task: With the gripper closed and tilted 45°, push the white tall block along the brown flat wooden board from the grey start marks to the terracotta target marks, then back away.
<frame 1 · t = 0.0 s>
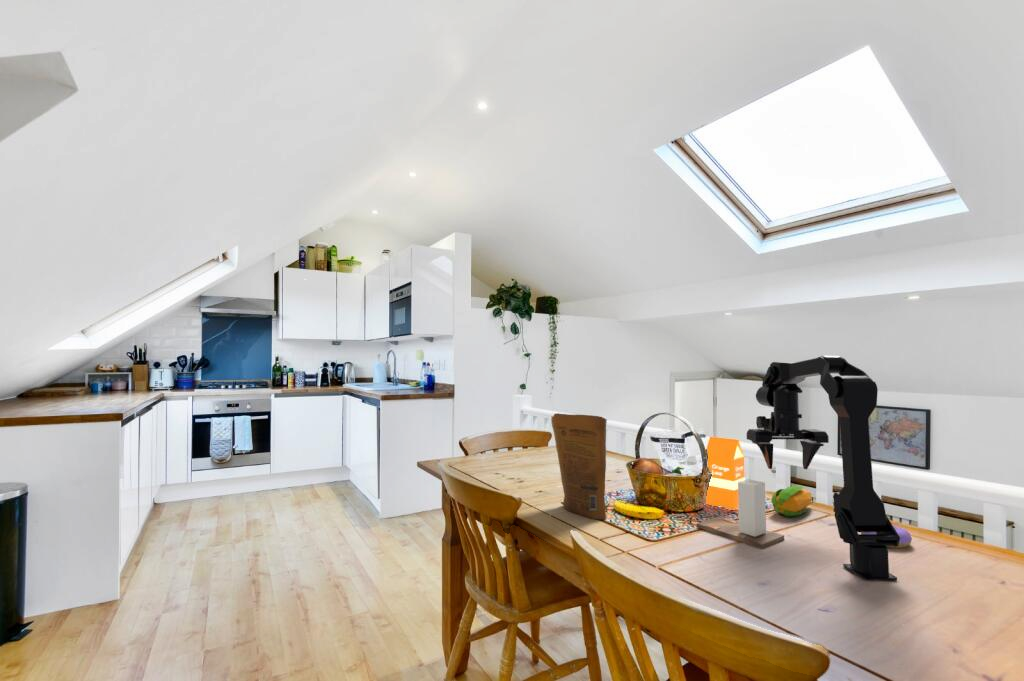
hand: (787, 468, 125), 15 cm above the table, tool pointing down, fingers open, 9 cm apart
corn: (793, 512, 136), on the table
brown flat wooden board: (738, 533, 118), on the table
orange juice: (725, 506, 142), on the table
donut: (885, 543, 113), on the table
white tall block: (751, 507, 116), point 7 cm above the table, slide at 0.0 cm
pancake mix bag: (581, 513, 134), on the table
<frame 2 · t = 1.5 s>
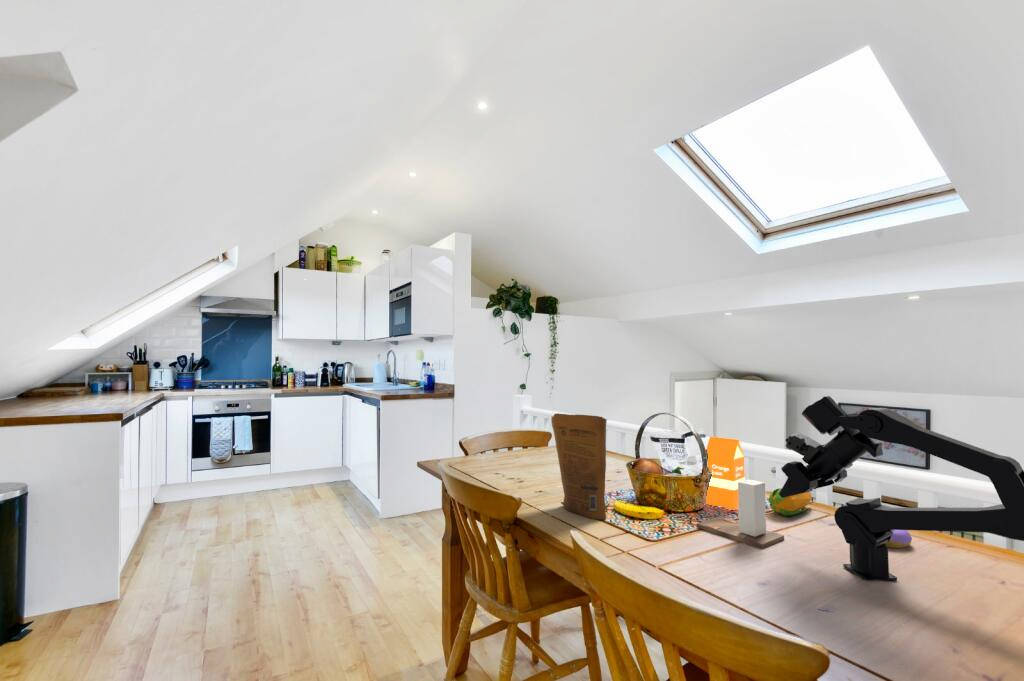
hand: (788, 493, 109), 13 cm above the table, tool tilted 45°, fingers open, 7 cm apart
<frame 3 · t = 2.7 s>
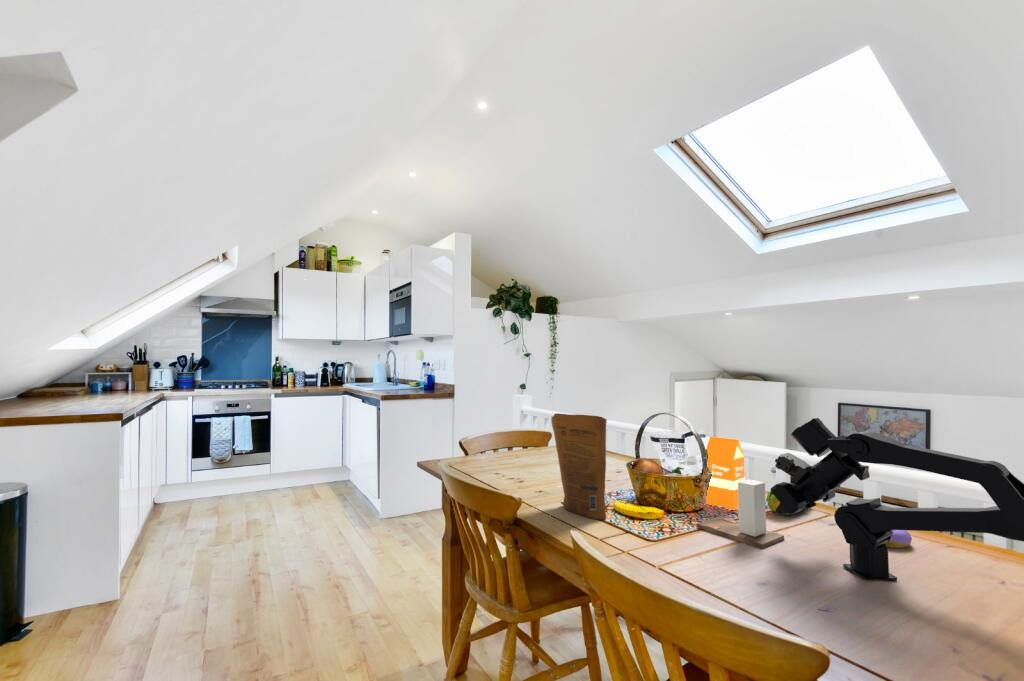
hand: (777, 512, 111), 8 cm above the table, tool tilted 45°, fingers closed
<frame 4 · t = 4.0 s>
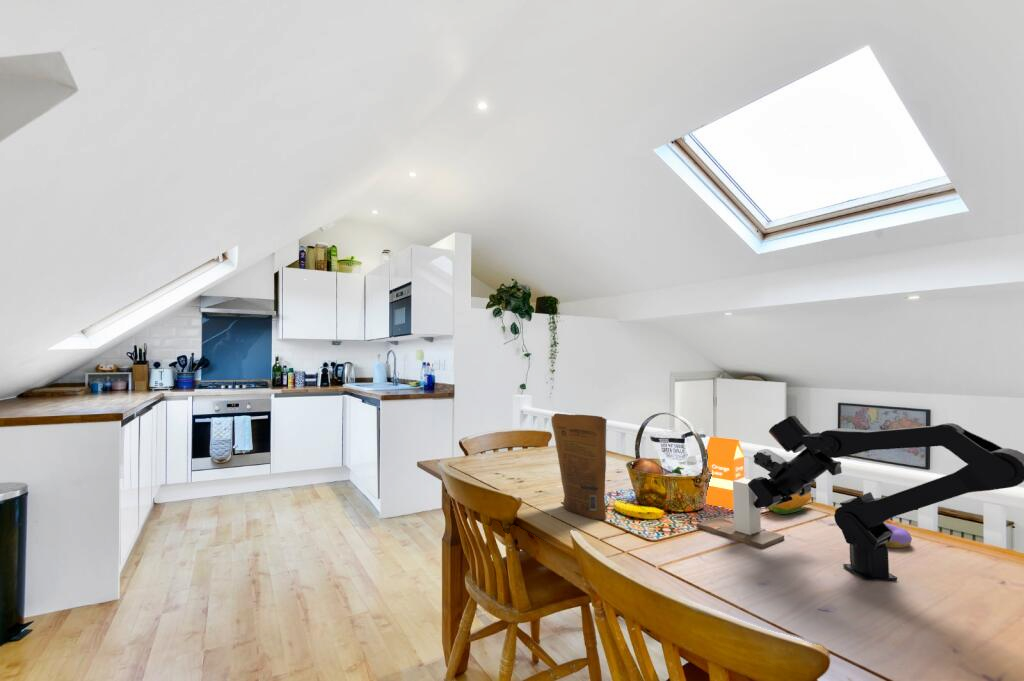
hand: (755, 506, 115), 8 cm above the table, tool tilted 45°, fingers closed, pressing on white tall block
white tall block: (746, 505, 117), point 7 cm above the table, slide at 1.3 cm, touching gripper
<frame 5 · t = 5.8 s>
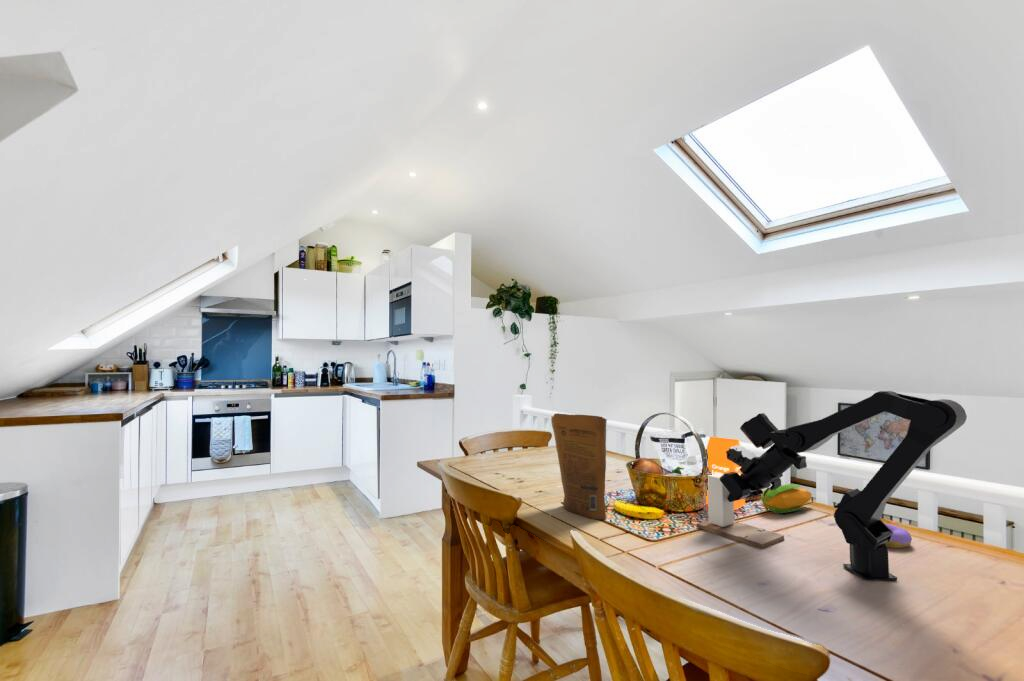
hand: (729, 500, 121), 8 cm above the table, tool tilted 45°, fingers closed, pressing on white tall block
white tall block: (720, 499, 123), point 7 cm above the table, slide at 8.2 cm, touching gripper
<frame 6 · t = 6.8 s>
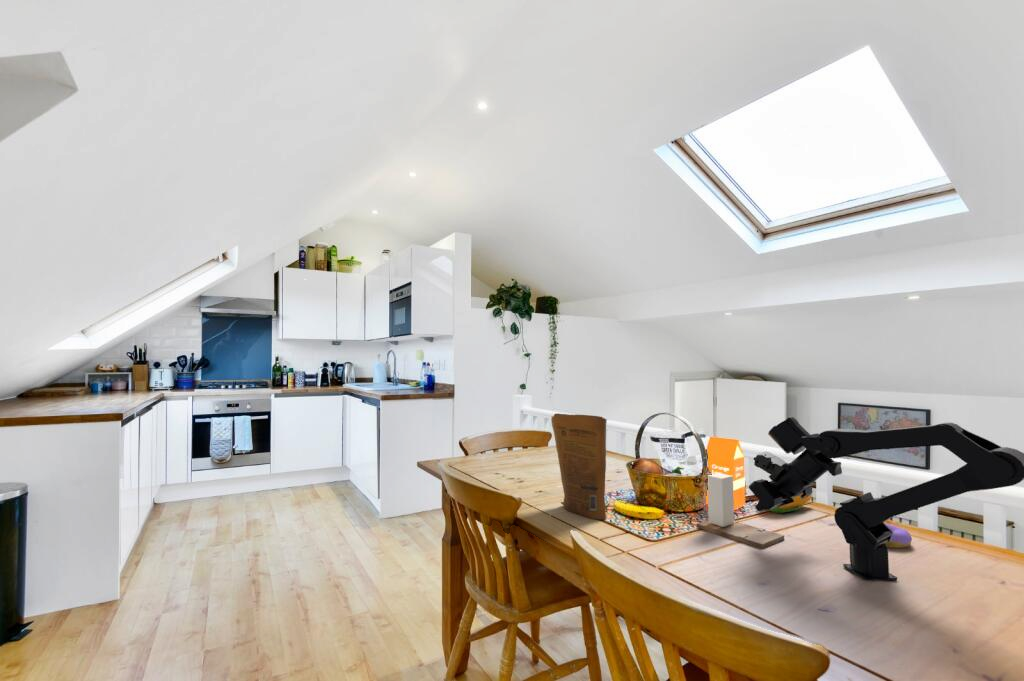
hand: (757, 509, 115), 7 cm above the table, tool tilted 45°, fingers closed
white tall block: (720, 499, 123), point 7 cm above the table, slide at 8.2 cm
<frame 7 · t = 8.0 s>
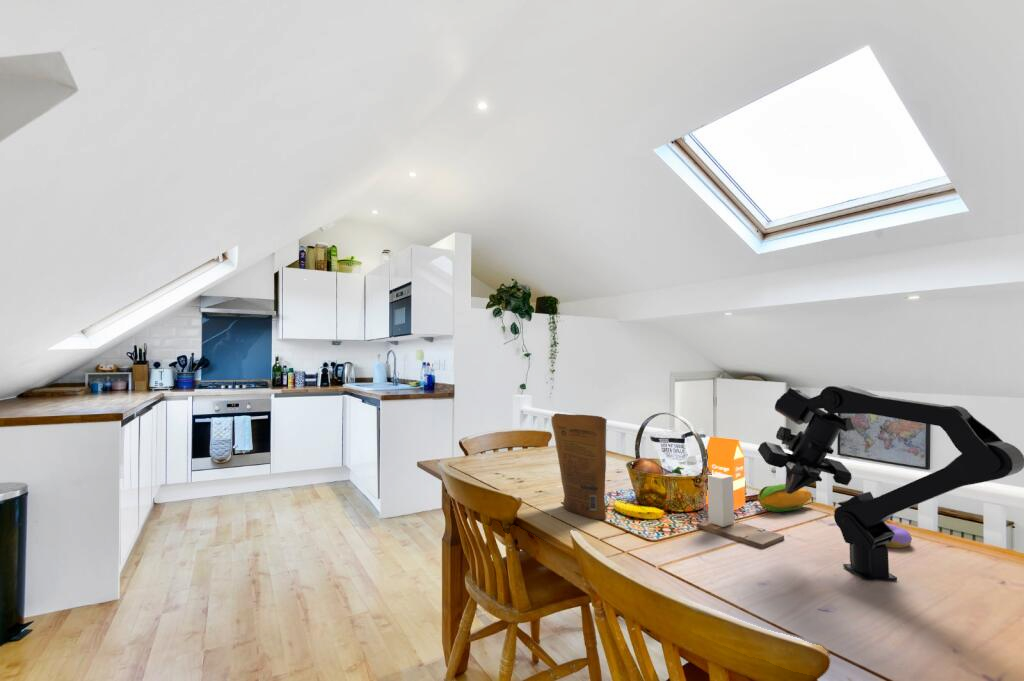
hand: (787, 492, 110), 12 cm above the table, tool tilted 30°, fingers closed
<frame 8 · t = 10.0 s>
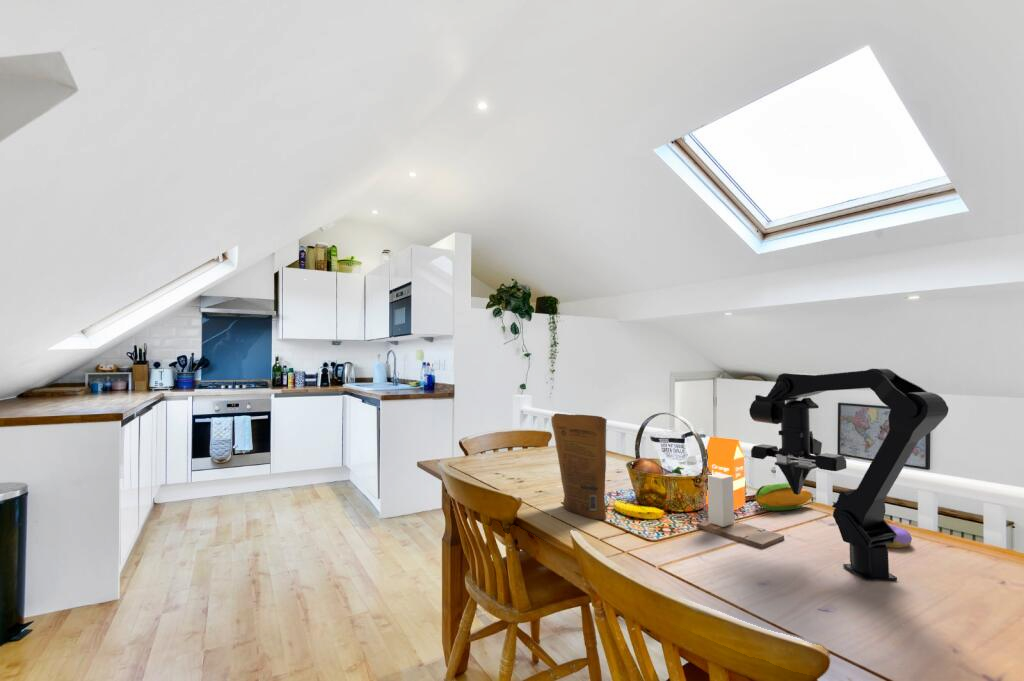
hand: (796, 494, 110), 12 cm above the table, tool pointing down, fingers closed
at the end: white tall block slide at 8.2 cm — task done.
